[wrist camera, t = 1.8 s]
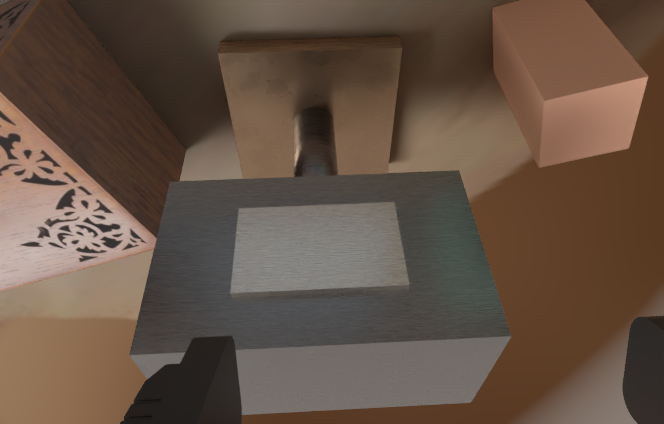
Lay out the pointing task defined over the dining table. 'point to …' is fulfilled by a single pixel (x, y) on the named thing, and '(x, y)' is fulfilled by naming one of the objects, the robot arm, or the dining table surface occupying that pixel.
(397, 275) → the mounted unit
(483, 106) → the dining table surface
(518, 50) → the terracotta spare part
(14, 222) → the tissue box cover
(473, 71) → the dining table surface
